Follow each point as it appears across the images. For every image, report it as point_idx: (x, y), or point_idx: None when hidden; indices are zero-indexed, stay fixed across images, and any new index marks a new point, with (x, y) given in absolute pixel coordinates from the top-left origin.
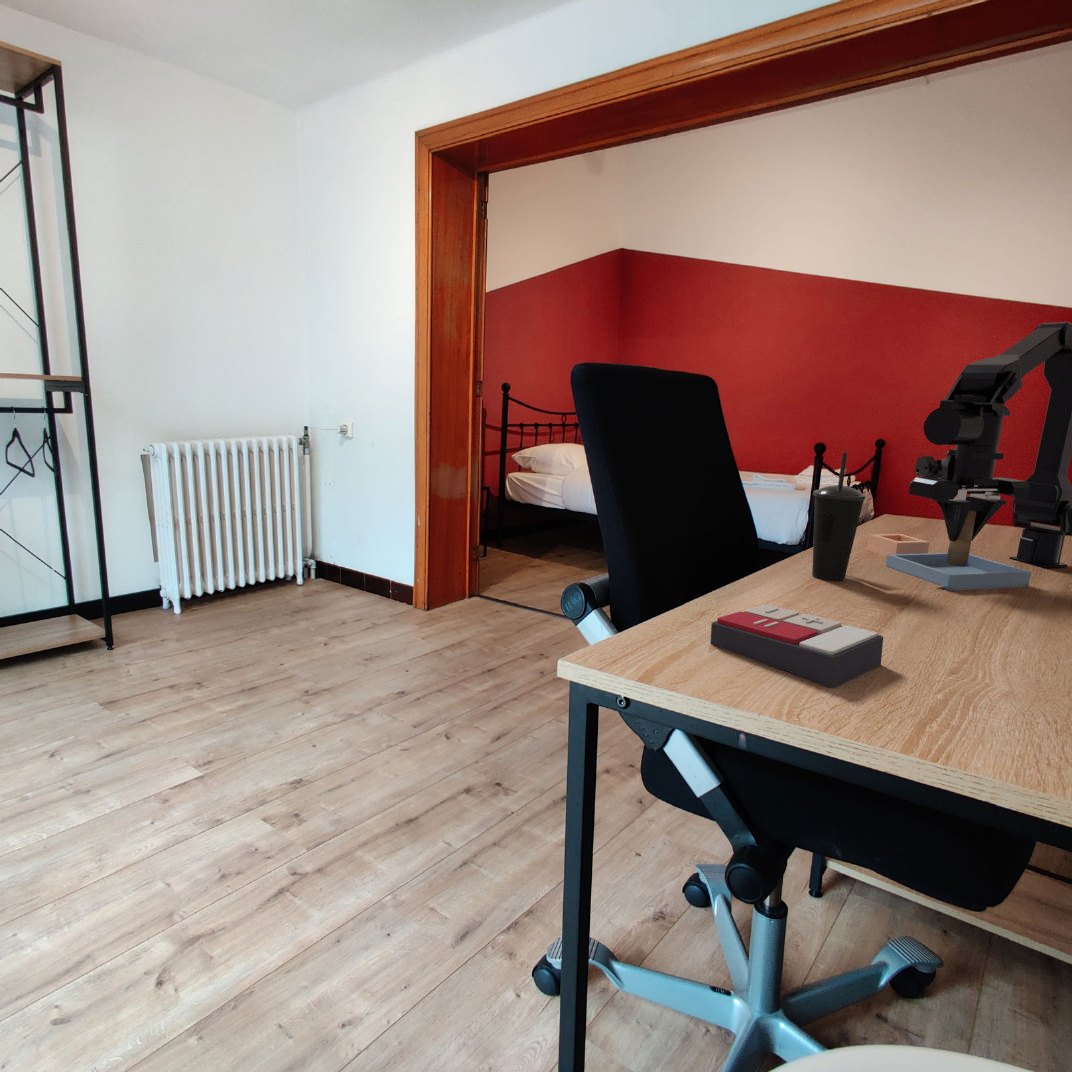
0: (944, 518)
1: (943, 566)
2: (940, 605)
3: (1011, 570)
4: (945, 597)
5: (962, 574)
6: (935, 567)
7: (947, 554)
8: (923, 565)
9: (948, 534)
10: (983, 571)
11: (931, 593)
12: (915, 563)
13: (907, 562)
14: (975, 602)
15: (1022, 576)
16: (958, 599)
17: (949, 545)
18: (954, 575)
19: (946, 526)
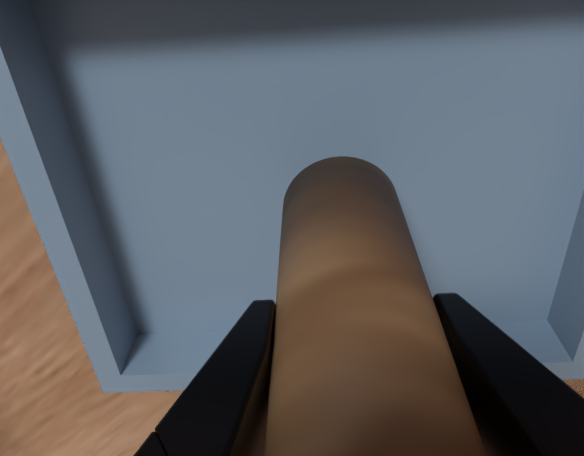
0: (138, 452)
1: (425, 6)
2: (3, 440)
3: (579, 306)
4: (70, 390)
5: (176, 389)
6: (336, 32)
7: (295, 203)
8: (67, 253)
9: (235, 331)
10: (580, 145)
11: (41, 354)
12: (38, 213)
13: (15, 158)
14: (146, 431)
15: None
16: (106, 407)
17: (284, 255)
18: (132, 388)
19: (197, 379)
